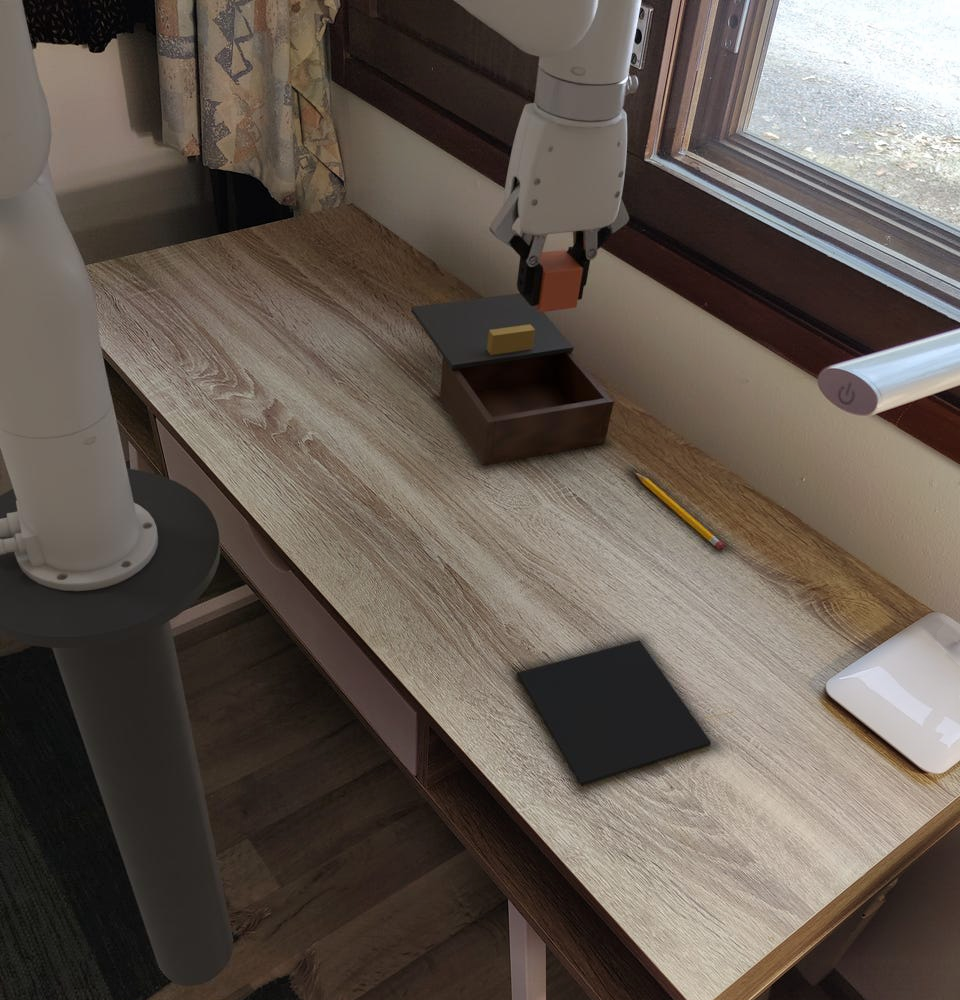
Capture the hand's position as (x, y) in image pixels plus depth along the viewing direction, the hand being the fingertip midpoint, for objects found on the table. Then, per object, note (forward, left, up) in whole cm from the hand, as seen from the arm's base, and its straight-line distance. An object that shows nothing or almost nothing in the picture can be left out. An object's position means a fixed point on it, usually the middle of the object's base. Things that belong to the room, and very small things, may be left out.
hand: (550, 294), depth 96 cm
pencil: (+9, -16, -17) cm, 25 cm away
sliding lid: (0, +12, -11) cm, 16 cm away
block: (0, 0, -1) cm, 1 cm away
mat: (-10, -38, -16) cm, 42 cm away
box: (0, +2, -16) cm, 16 cm away
